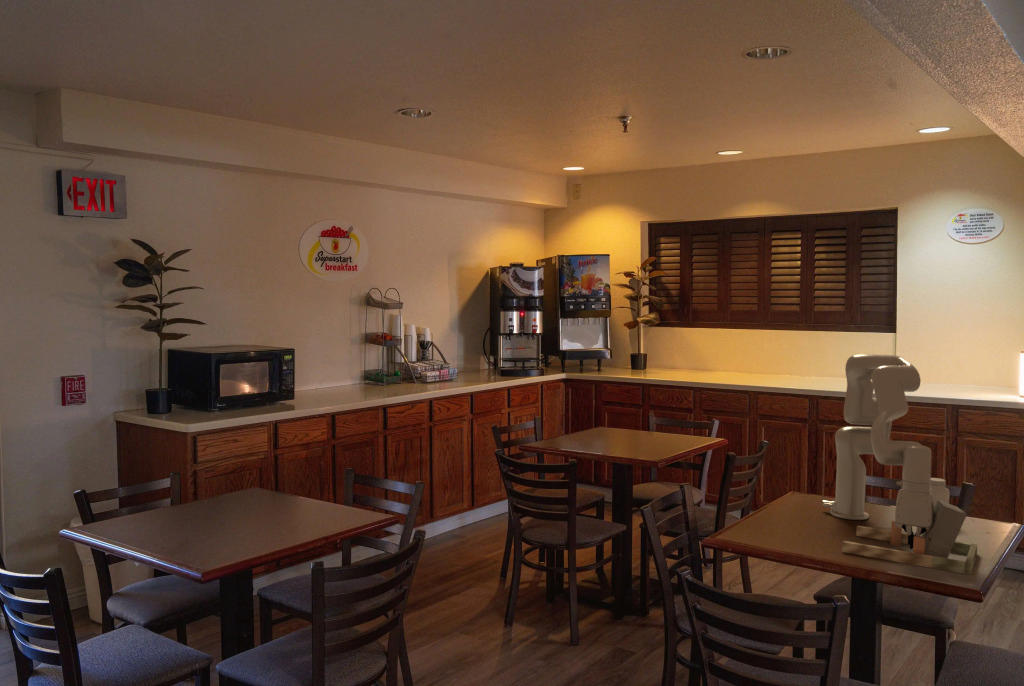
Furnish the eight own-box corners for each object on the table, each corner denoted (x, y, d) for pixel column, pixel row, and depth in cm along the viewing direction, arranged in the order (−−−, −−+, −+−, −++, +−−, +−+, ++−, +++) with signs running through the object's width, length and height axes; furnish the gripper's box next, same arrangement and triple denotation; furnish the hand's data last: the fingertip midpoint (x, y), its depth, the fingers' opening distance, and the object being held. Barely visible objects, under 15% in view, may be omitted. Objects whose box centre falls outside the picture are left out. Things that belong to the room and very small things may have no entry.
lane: (842, 551, 240) (842, 541, 240) (857, 534, 259) (857, 525, 259) (971, 574, 222) (971, 564, 222) (976, 554, 241) (977, 544, 241)
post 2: (911, 561, 232) (913, 537, 232) (913, 559, 235) (914, 535, 234) (923, 563, 230) (924, 539, 230) (924, 561, 233) (925, 537, 233)
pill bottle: (927, 524, 274) (929, 481, 274) (918, 518, 282) (920, 476, 282) (952, 526, 273) (954, 482, 273) (942, 519, 281) (944, 477, 281)
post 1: (889, 544, 249) (890, 522, 249) (891, 542, 252) (892, 520, 251) (900, 546, 247) (901, 523, 247) (901, 544, 250) (902, 521, 250)
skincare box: (915, 547, 241) (933, 498, 239) (940, 555, 240) (958, 506, 238) (923, 555, 233) (942, 504, 231) (949, 564, 231) (968, 512, 230)
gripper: (886, 485, 240) (883, 546, 240) (942, 492, 231) (939, 555, 232) (890, 481, 246) (888, 541, 247) (945, 488, 238) (943, 550, 238)
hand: (913, 548), depth 239 cm, fingers closed
